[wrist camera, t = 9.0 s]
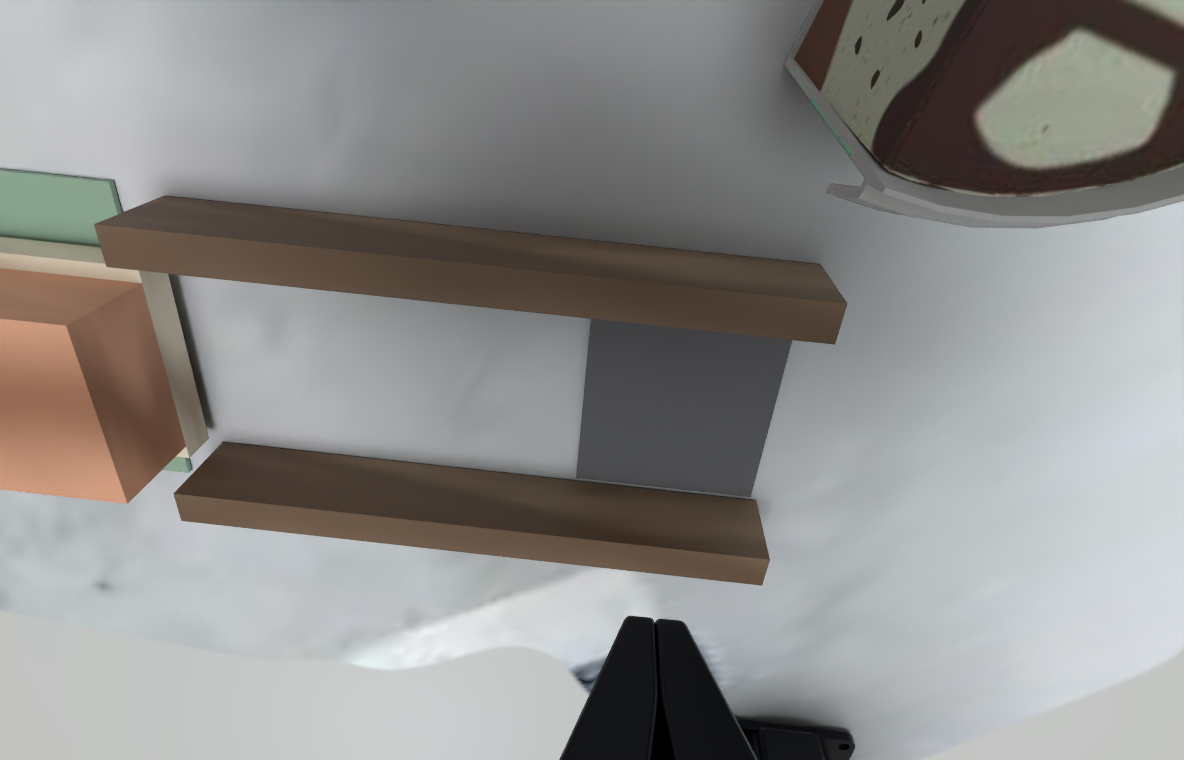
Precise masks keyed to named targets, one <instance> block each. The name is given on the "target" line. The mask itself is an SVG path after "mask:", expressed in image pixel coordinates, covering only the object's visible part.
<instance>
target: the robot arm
mask: <svg viewBox="0 0 1184 760" xmlns="http://www.w3.org/2000/svg"><path fill="white" fill-rule="evenodd" d="M854 749H855V744H854V740H853V737H852V735H851V734H849V733H846V732H839V731H830V730H821V729H812V728H804V727H795V726H786V725H777V724H769V723H760V722H751V721H742V720H736V718H735V716H734V714H733V712H732V711H731V709H730V707H729V705H728V703H727V701H726V699H725V697H724V695H723V694H722V692H721V690H720V688H719V686H718V684H717V682H716V680H715V678H714V677H713V675H712V673H711V671H710V669H709V667H708V665H707V663H706V661H705V659H704V658H703V656H702V654H701V652H700V650H699V648H698V646H697V644H696V642H695V641H694V639H693V637H692V635H691V633H690V631H689V629H688V627H687V626H686V624H685V623H684V622H682V621H678V620H668V619H658V620H656V622H654V620H653V619H651V618H647V617H636V616H628V617H626V618H625V620H624V622H623V624H622V626H621V628H620V630H619V632H618V634H617V637H616V639H615V641H614V643H613V645H612V647H611V650H610V652H609V654H608V656H607V658H606V660H605V662H604V665H603V667H602V669H601V671H600V673H599V675H598V678H597V680H596V682H595V684H594V686H593V688H592V691H591V693H590V695H589V697H588V699H587V701H586V704H585V706H584V708H583V710H582V712H581V714H580V716H579V719H578V721H577V723H576V725H575V727H574V729H573V732H572V734H571V736H570V738H569V740H568V742H567V745H566V747H565V749H564V751H563V753H562V755H561V757H560V760H849V759H850V757H851V755H852V753H853V751H854Z"/></svg>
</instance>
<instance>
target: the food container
mask: <svg viewBox="0 0 1184 760" xmlns="http://www.w3.org/2000/svg"><path fill="white" fill-rule="evenodd" d="M784 65H785V67H786V68H787V70H788V71H789V72H790V74H791V75H792V77H793V78H794V79H795V81H796V82H797V84H798V85H799V86H800V88H801V89H802V91H803V92H804V93H805V95H806V96H807V98H808V99H809V100H810V102H811V103H812V105H813V106H814V107H815V109H816V110H817V112H818V113H819V115H820V116H821V117H822V119H823V120H824V122H825V123H826V124H827V126H828V127H829V129H830V130H831V131H832V133H833V134H834V136H835V137H836V138H837V140H838V141H839V143H840V144H841V145H842V147H843V148H844V150H845V151H846V153H847V154H848V155H849V157H850V158H851V160H852V161H853V162H854V164H855V165H856V167H857V168H858V169H859V171H860V172H861V174H862V175H863V176H864V178H865V180H864V182H863V184H862V185H861V187H858V186H849V185H840V184H830V185H829V187H828V189H827V191H826V193H828V194H831V195H834V196H836V197H839V198H842V199H845V200H848V201H851V202H854V203H857V204H860V205H863V206H866V207H869V208H872V209H875V210H880V211H885V212H890V213H895V214H900V215H905V216H910V217H916V218H921V219H927V220H933V221H939V222H944V223H950V224H956V225H961V226H967V227H986V228H1042V227H1050V226H1058V225H1066V224H1074V223H1082V222H1089V221H1097V220H1104V219H1108V218H1112V217H1116V216H1121V215H1129V214H1136V213H1140V212H1144V211H1147V210H1151V209H1155V208H1159V207H1163V206H1166V205H1170V204H1174V203H1178V202H1181V201H1184V0H816V1H815V3H814V5H813V7H812V9H811V11H810V13H809V15H808V17H807V19H806V21H805V23H804V25H803V27H802V29H801V31H800V33H799V34H798V36H797V38H796V40H795V42H794V44H793V46H792V48H791V50H790V52H789V54H788V56H787V58H786V60H785V62H784Z"/></svg>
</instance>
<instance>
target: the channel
mask: <svg viewBox="0 0 1184 760" xmlns="http://www.w3.org/2000/svg"><path fill="white" fill-rule="evenodd" d="M94 227H95V230H96V233H97V237H98V240H99V244H100V247H101V250H102V254H103V257H104V260H105V264H106V267H110V268H120V269H129V270H139V271H148V272H158V273H167V274H176V275H186V276H195V277H205V278H214V279H223V280H233V281H242V282H252V283H261V284H271V285H280V286H289V287H299V288H308V289H318V290H327V291H336V292H346V293H355V294H365V295H374V296H383V297H393V298H402V299H412V300H421V301H431V302H440V303H449V304H459V305H468V306H478V307H487V308H496V309H506V310H515V311H525V312H534V313H544V314H553V315H562V316H572V317H581V318H591V319H600V320H609V321H619V322H628V323H638V324H647V325H657V326H666V327H675V328H685V329H694V330H704V331H713V332H722V333H732V334H741V335H751V336H760V337H770V338H779V339H788V340H798V341H807V342H817V343H826V344H835V343H836V339H837V336H838V333H839V329H840V326H841V323H842V320H843V316H844V313H845V310H846V306H847V302H846V301H845V299H844V298H843V297H842V295H841V294H840V292H839V291H838V289H837V288H836V286H835V285H834V283H833V282H832V280H831V279H830V278H829V276H828V275H827V273H826V272H825V270H824V269H823V267H822V266H821V264H813V263H804V262H794V261H784V260H775V259H765V258H756V257H746V256H737V255H727V254H718V253H708V252H698V251H689V250H679V249H670V248H660V247H651V246H641V245H631V244H622V243H612V242H603V241H593V240H584V239H574V238H564V237H555V236H545V235H536V234H526V233H517V232H507V231H498V230H488V229H478V228H469V227H459V226H450V225H440V224H431V223H421V222H411V221H402V220H392V219H383V218H373V217H364V216H354V215H345V214H335V213H325V212H316V211H306V210H297V209H287V208H278V207H268V206H258V205H249V204H239V203H230V202H220V201H211V200H201V199H192V198H182V197H172V196H163V197H160V198H158V199H155V200H153V201H150V202H148V203H145V204H143V205H140V206H138V207H135V208H133V209H130V210H128V211H125V212H123V213H120V214H118V215H115V216H113V217H110V218H108V219H105V220H103V221H100V222H98V223H95V224H94ZM174 497H175V500H176V503H177V507H178V510H179V514H180V517H181V520H182V521H188V522H197V523H206V524H215V525H224V526H233V527H242V528H251V529H260V530H269V531H278V532H287V533H296V534H305V535H314V536H323V537H332V538H341V539H350V540H359V541H368V542H377V543H386V544H395V545H404V546H413V547H422V548H431V549H440V550H449V551H458V552H466V553H475V554H484V555H493V556H502V557H511V558H520V559H529V560H538V561H547V562H556V563H565V564H574V565H583V566H592V567H601V568H610V569H619V570H628V571H637V572H646V573H655V574H664V575H673V576H682V577H691V578H700V579H709V580H718V581H727V582H736V583H745V584H754V585H762V584H763V581H764V577H765V574H766V571H767V567H768V564H769V561H770V558H769V554H768V550H767V545H766V541H765V537H764V532H763V528H762V524H761V519H760V515H759V511H758V506H757V502H756V500H747V499H738V498H729V497H719V496H710V495H701V494H692V493H683V492H674V491H665V490H656V489H646V488H637V487H628V486H619V485H610V484H601V483H592V482H583V481H574V480H564V479H555V478H546V477H537V476H528V475H519V474H510V473H501V472H491V471H482V470H473V469H464V468H455V467H446V466H437V465H428V464H419V463H409V462H400V461H391V460H382V459H373V458H364V457H355V456H346V455H336V454H327V453H318V452H309V451H300V450H291V449H282V448H273V447H264V446H254V445H245V444H236V443H227V442H222V444H221V445H220V446H219V447H218V448H217V449H216V450H215V451H214V452H213V453H212V454H211V455H210V456H209V457H208V458H207V459H206V460H205V461H204V462H203V463H202V464H201V465H200V467H199V468H198V469H197V470H196V471H195V472H194V473H193V474H192V475H191V476H190V477H189V478H188V479H187V480H186V481H185V482H184V483H183V484H182V485H181V486H180V487H179V489H178V490H177V491H176V492H175V493H174Z"/></svg>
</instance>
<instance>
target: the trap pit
mask: <svg viewBox="0 0 1184 760" xmlns="http://www.w3.org/2000/svg"><path fill="white" fill-rule="evenodd" d="M791 342H792V340H788V339H779V338H770V337H760V336H751V335H741V334H732V333H722V332H713V331H704V330H694V329H685V328H675V327H666V326H657V325H647V324H638V323H628V322H619V321H609V320H600V319H591V326H590V337H589V348H588V358H587V369H586V380H585V390H584V401H583V412H582V422H581V433H580V444H579V454H578V465H577V476H576V478H583V479H592V480H601V481H610V482H619V483H629V484H638V485H647V486H656V487H665V488H674V489H683V490H692V491H702V492H711V493H720V494H729V495H738V496H747V497H751V493H752V489H753V486H754V482H755V478H756V474H757V470H758V467H759V463H760V459H761V455H762V452H763V448H764V444H765V440H766V437H767V433H768V429H769V425H770V421H771V418H772V414H773V410H774V406H775V403H776V399H777V395H778V391H779V388H780V384H781V380H782V376H783V372H784V369H785V365H786V361H787V357H788V354H789V350H790V346H791Z"/></svg>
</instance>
